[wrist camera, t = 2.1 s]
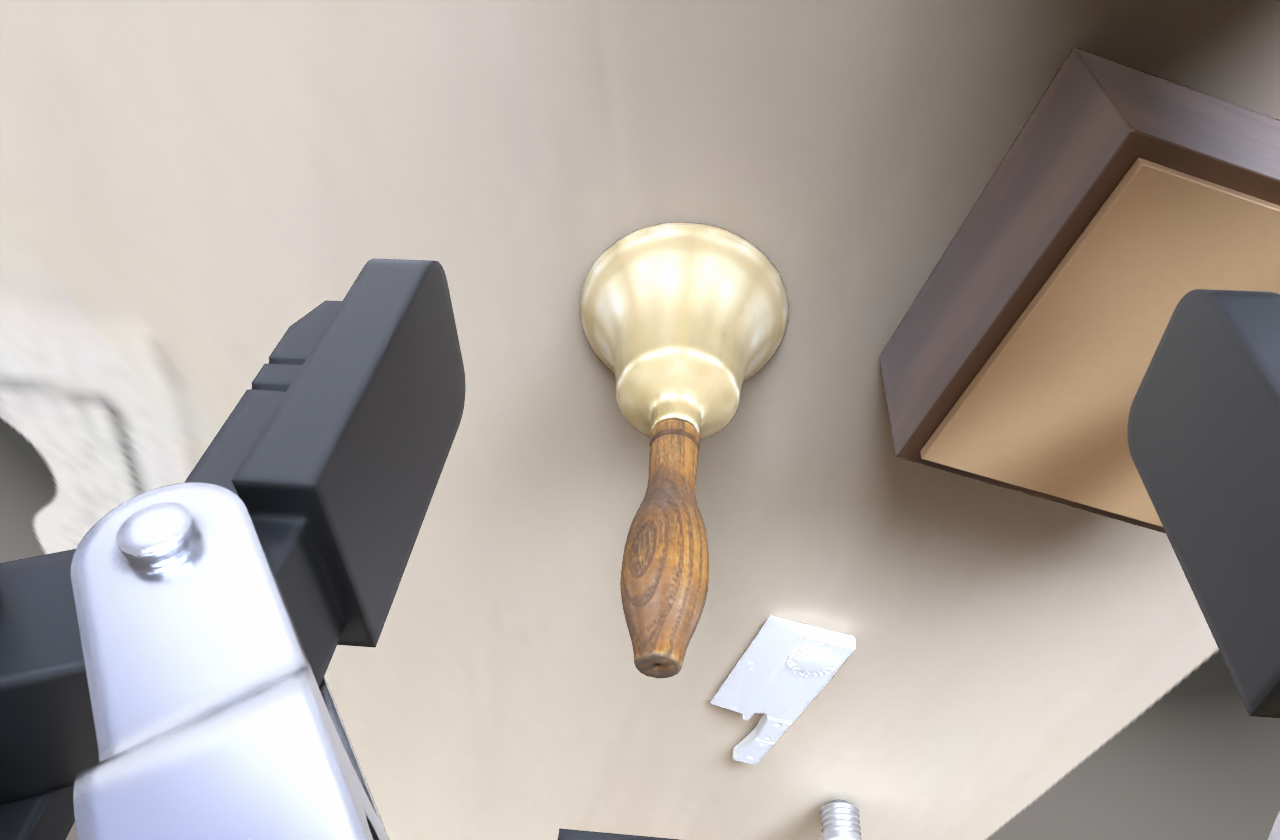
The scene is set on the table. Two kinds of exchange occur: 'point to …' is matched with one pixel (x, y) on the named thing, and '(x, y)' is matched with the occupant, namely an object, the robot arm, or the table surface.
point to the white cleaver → (780, 679)
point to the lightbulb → (840, 821)
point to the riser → (1081, 283)
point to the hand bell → (677, 399)
